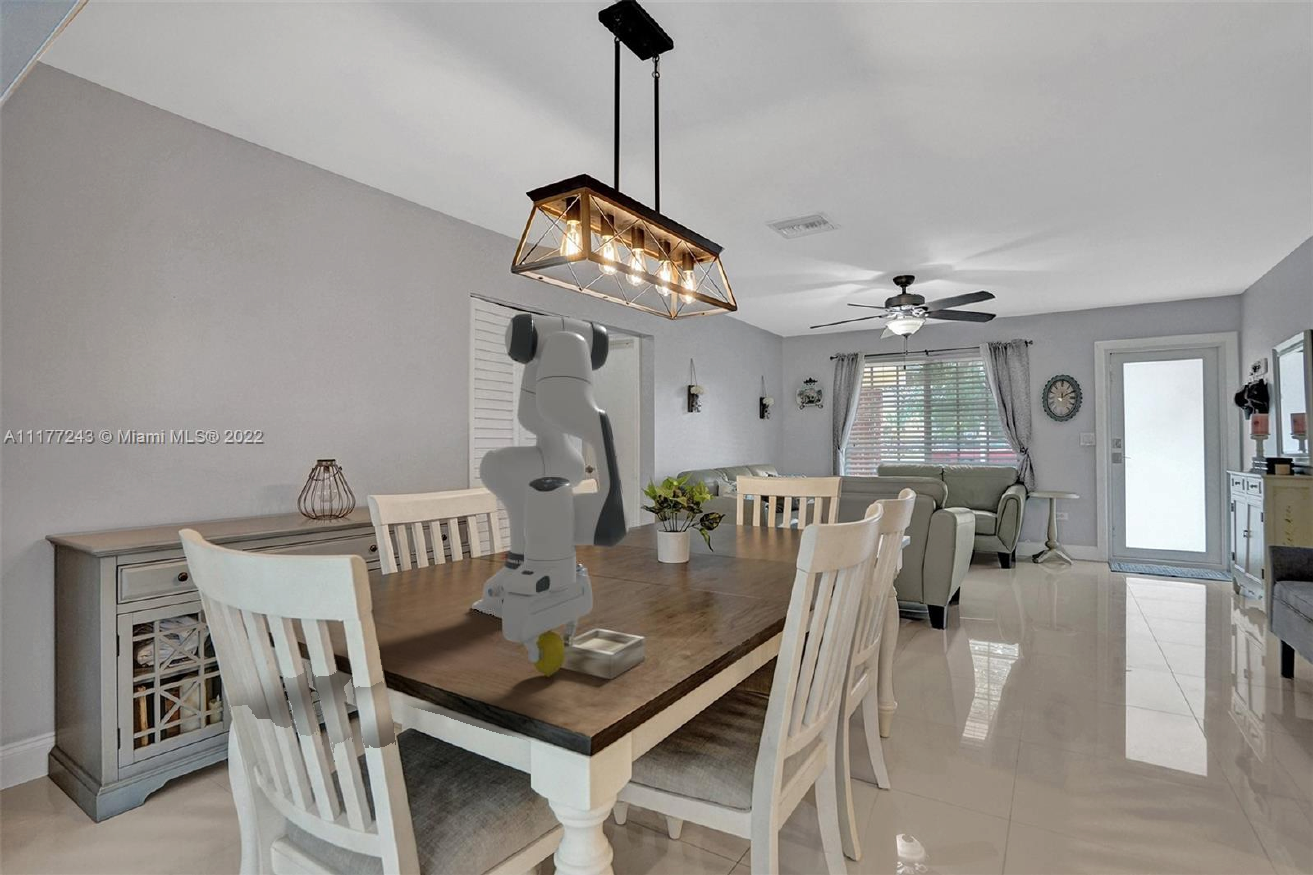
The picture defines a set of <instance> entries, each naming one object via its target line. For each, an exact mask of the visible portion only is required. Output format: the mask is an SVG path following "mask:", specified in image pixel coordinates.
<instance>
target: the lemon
mask: <svg viewBox="0 0 1313 875" xmlns="http://www.w3.org/2000/svg"><path fill="white" fill-rule="evenodd" d="M536 644H537V647H538V649H542V659H541V660H539V661H537V662H532V663H533V666H534V668H535V669H536V671H538V672H539V673H541V674H543V675H544V676H546V677H547V678H549V677H551V676H552V675H553V674H554V673H556V672H557V671H559V670H560V668H561V666H562V664H563V661H564V657H565V649H564V644H563V641H562V639H561V635H559V634H557V633H556V632H553V631H552V630H550V631H548V632H545V633H543V634H541V635H538V642H536Z"/></svg>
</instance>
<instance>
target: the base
mask: <svg viewBox="0 0 1313 875" xmlns="http://www.w3.org/2000/svg"><path fill="white" fill-rule="evenodd" d="M564 649H565V657H564V661H563V664H562V666H561V667H560V668H561V669H565V670H570V671H575V672H577V673H583V674H587V675H590V676H591V675H592V676H595V677H599V678H604V679H609V680H612V679H614V678H616V677H618V676H620V675H621V674H623V673H625V672H627V671H628V670H630V669H632V668H633V667H635V666H637V665H639V664H640V663H642V662H644V661H645V660H646V637H645V636H640V635H634V634H630V633H626V632H625V633H624V632H620V631H619V632H618V631H615V630H614V631H613V630H609V629H603V628H597V627H596V628H593V629H591V630H589V631H587V632H585V633H582V634H580V635H578V636H574V644H572V645H570V646H568V647H567V646H564Z"/></svg>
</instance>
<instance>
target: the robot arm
mask: <svg viewBox="0 0 1313 875" xmlns="http://www.w3.org/2000/svg"><path fill="white" fill-rule="evenodd" d="M609 338H610V336H609V332H608V331H607V329H606V328H605V326H603V325H600V324H598V323H596V322H592V321H590V322H587V321H583V320H579V319H577V318H572V317H566V316H553V315H536V314H535V315H534V314H533V315H532V314H531V313H518V314H515V316H513V317H512V318H511V319H510V322H509V324H508V326H506V330H505V334H504V344H505V349H506V350H507V351H506V352H507V355H508V356H509V357H510V359H511V360H512V361H514V362H516V363H519V364H521V365H524V369H523V373H522V377H521V382H520V383H521V384H520V391H519V400H518V407H517V414H516V415H517V419H518V422H519V424H520V426H521V427H523V429H525V430H526V431H528V432H529V433H531V434H533V435H535V437H536V443H535V445H531V446H530V445H529V446H528V445H527V446H525V445H523V446H521V445H520V446H519V445H518V446H517V445H516V446H512V445H511V446H503V447H498V448H495V449H490V450H488V451H487V452H486V453H485V454H484V456H483V457H482V459H481V461H480V464H479V477H480V480H481V482H482V484H483V486H484V487H485V489H487V490H488V492H491V493H492V494H493V495H494V496H496V498H498V500H499V501H500V502H501V504H502V505H503V508H504V509H505V511H506V515H507V518H508V527H509V540H510V541H509V544H510V546H509V547H510V548H509V549H510V550H509V551H508V552H506V553H501V556H503V557H501V560H504V559H505V562H504V564H503V565H504V566H503V567H502V568H501V569H499V570H498V571H497V572H496V573H495V574H494V575H492V576H491V577H489V579H487V580H486V581H485V583H484V585H483V588H482V595H481V596H482V597H481V599H478V600H477V601H475V602H474V603H473V604H471V605H472V606H471V609H472V610H474V609H477V610H479V611H478V612H481V611H482V612H481V613H483V614H488V615H490V614H492V615H491V616H493V615H494V616H493V617H496V618H499V619H501V623H502V624H501V625H502V628H501V630H502V635H503V637H504V638H505V639H506V640H507V641H510V642H513V643H520V644H521V643H523V645H524V647H525V649H526V650H527V651H528V661H529V662H532V663H533V662H537V661H539V660H541V659H542V649H538V647H537V644H536V642H538V636H539V635H541V634H543V633H545V632H548V631H550V630H551V631H552V630H555V629H556V628H559V627H561V626H563V625H565V627H564V632H563V634H561V635H560V637H561V639H562V641H563V644H564V646H567V647H568V646H570V645H572V644H574V638H575V634H576V631H577V629H578V625H579V618H582V617H584V616H586V615H588V614H591V612H592V609H593V606H594V602H593V601H594V600H593V590H592V584H591V579H590V577H589V571H588V568H587V567H586V566H585V565H584V564H583V563H577V551H576V548H575V546H594V547H605V548H613V547H615V546H616V545H618V544H619V543H620V542H622V541H623V540H624V539H625V538H626V537H627V535H628V534H629V528H630V513H629V508H628V505H627V501H626V499H625V495H624V492H623V487H622V481H621V480H622V479H621V473H620V469H619V468H620V467H619V461H618V457H617V455H618V454H617V451H616V446H615V439H614V435H613V429H612V425H611V420H610V418H609V416H608V414H607V411H606V410H604V409H601V408H599V406H598V405H597V403H596V400H595V397H594V391H593V387H594V386H593V383H594V382H593V380H594V379H593V378H594V377H593V371H598V370H599V369H601V368H602V367H603V366H604V365H605V364H606V361H607V359H608V357H609V352H610V339H609ZM569 436H573V437H575V438H577V439H580V440H582V441H585V442H586V443H588V444H589V445H590V446H591V447H592V449H593V450H594V455H595V461H596V462H595V463H596V468H597V474H598V481H599V487H600V488H599V490H597V491H596V492H574V491H573V488H576V487H578V486H579V485H580V484H581V483H582V482H583V480H584V478H585V475H586V462H585V458H584V457H583V455H582V453H581V452H580V451H579V450H578V449H577V448H576V447H575V446H574V445H573V444H572V442H571V440H570V438H569ZM477 610H476V611H477Z"/></svg>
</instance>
